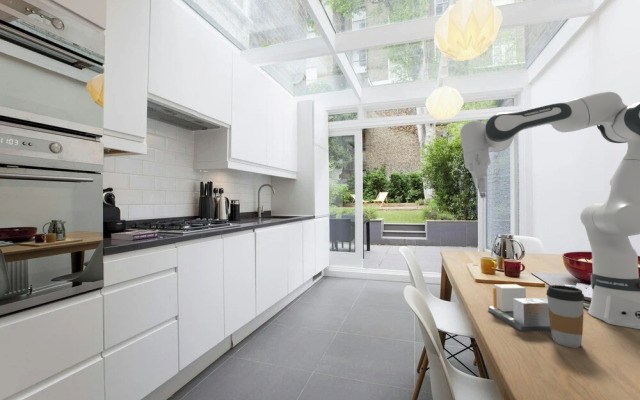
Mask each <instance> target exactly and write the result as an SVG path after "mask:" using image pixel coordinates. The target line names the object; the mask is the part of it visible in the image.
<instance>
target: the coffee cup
mask: <svg viewBox="0 0 640 400" xmlns="http://www.w3.org/2000/svg"><path fill="white" fill-rule="evenodd" d="M545 295H546V296H547V298H546V299H548V310H549V319H550V328H551V331H550V332H551V338H552V339H553V342H554V343H556V344H558V345H561V346H565V347H568V348H579V347H581V345H582V343H583V340H582V339H583V334H584V333H583V331H584V314H585V312H584V306H585V304H584V302H585V299H586V298H585V295H584V293H583V291H582V289H580V288H577V287H574V286H569V285H560V284H559V285H558V284H552V285H551V284H550V285H548V286H547V288H546V294H545Z"/></svg>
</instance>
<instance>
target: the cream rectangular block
mask: <svg viewBox="0 0 640 400" xmlns="http://www.w3.org/2000/svg"><path fill="white" fill-rule="evenodd" d="M492 297H493V301H492V303H493V307H494V308H498V309H500V310H501V311H513V298H527V297H526V287H524V286H522V285H519V284H517V283H513V284H512V283H511V284H508V283H507V284H505V283H504V284H503V283H502V284H496V283H495V284H493V288H492Z"/></svg>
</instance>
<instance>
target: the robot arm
mask: <svg viewBox="0 0 640 400" xmlns="http://www.w3.org/2000/svg"><path fill="white" fill-rule="evenodd" d="M544 125H545V126H546V125H551V127H552V128H553V129H554V130H556V131H557V132H560V133H571V132H572V133H573V132H576V131H580V130H584V129H587V128H591V127H595V126H596V128H597V129H598V131H599V132H600V134H601V136H602V138H604V140H606V141H607V142H609V143H613V144H625V143H627V150H626V153H625V155H624V156H623V158H622V160H621V161H620V163H619V165H618V167H617V168H616V170H615V172H614V174H613V175H612V177H611V179H609V180H610V181H609V185H610V191H609V195H608V198H607V200H606V201H605V202H596V203H592V204H590V205H588V206H586V207H585V208H583V210H582V211H581V213H580V220H581V223H582V224H583V226H584V228H585V231H586V235H587V237H588V242H589V244H590V249H591V262H592V263H591V264H592V273H590V286H591V289H592V293H591V300H590V304H589V308H588V311H587V313H588V314H589V315H590V316H592V317H594V318H596V319H599V320H602V321H604V322H605V323H607V324H609V325H614V326H619V327H625V328H631V329H636V330H637V329H638V330H640V277H639V257H638V256H639V255H638V253H637V251H636V249H635V248H634V246H632V243H631V241H630V237H632V236H638V235H640V101H639V102H636V103H635V102H634V103H633V104H632V105H630V106H629V105H627V104H625V103H623V99H622V97H621V96H620V95H619V94H618V93H617V92H614V91H604V92H603V91H602V92H597V93H592V94H589V95H585V96H581V97H577V98H574V99H570V100H566V101H564V102H557V103H552V104H548V105H543V106H539V107H534V108H531V109H530V108H529V109H526V110H522V111H516V112H515V111H513V112H509V111H507V112H506V111H505V112H499V113H496V114H494V115H492V116H491V117H489V119H488V120H487V121H486V123H485V122H483V121H481V120H477V119H475V120H471V121H468V122H467V123H465V124H464V125H463V126H462V127H461V129H460V132H459V133H460V134H459V135H460V146H461V148H462V151H463V162H464V167H465V169H467V170H468V172H469V173H470V174H471V178H472V180H473V183H474V187H475V189H476V190H478V192H479V197H480V199H486V197H487V195H486V192H487V189H486V188H487V175H488V174H487V169H488V166H489V165H491V158H490V157H491V156H490V153H491V152H493V153H494V152H496V153H497V152H502V151H505V150H506V149H508V148H509V147H510V146H511V144H512V142H513V141H514V138H515V136H516V135H517V134H518V133H520V132H521V131H523V130H529V129H531V128H536V127H541V126H544Z"/></svg>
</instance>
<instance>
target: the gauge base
mask: <svg viewBox="0 0 640 400" xmlns="http://www.w3.org/2000/svg"><path fill="white" fill-rule="evenodd" d="M487 309H488V312H489V313H491V314H493V315H494V316H496V317H498V318H499V319H500V320H502V321H504V322H505V323H507V324H508V325H510V326H511V327H513V328H514V329H516V330H518V331H519V332H521V333H522V332H523V333H524V332H551V328H550V319H549V310H548V298H544V297H536V298H535V297H529V298H528V297H526V298H513V311H501V310H500V309H498V308H494V305H489V306H488V308H487Z"/></svg>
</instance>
